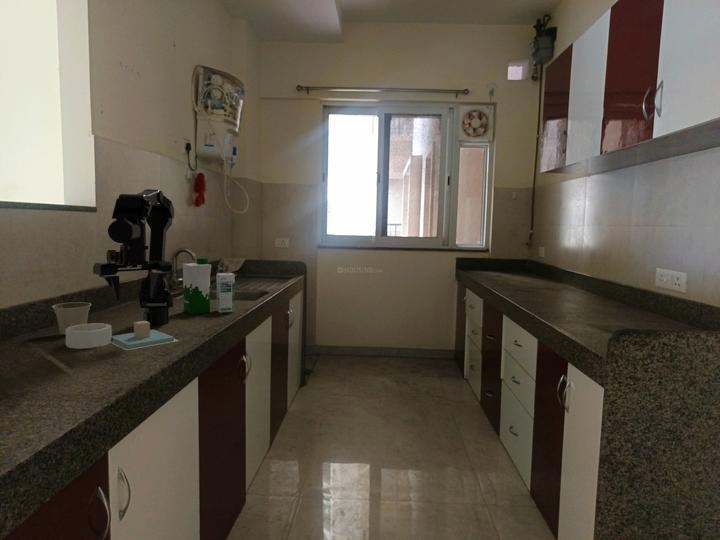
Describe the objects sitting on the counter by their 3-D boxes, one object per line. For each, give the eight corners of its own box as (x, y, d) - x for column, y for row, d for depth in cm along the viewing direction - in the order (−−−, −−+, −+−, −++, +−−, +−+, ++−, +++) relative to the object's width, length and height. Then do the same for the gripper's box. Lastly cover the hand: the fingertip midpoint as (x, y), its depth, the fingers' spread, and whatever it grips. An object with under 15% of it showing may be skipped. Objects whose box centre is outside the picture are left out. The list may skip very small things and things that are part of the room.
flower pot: (73, 339, 124) (72, 309, 123) (44, 337, 125) (43, 306, 125) (99, 332, 133) (99, 303, 132) (72, 329, 135) (71, 301, 134)
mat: (155, 334, 132) (155, 331, 132) (179, 343, 123) (179, 340, 123) (104, 342, 122) (104, 339, 122) (126, 353, 113) (125, 350, 112)
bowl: (102, 339, 125) (102, 321, 124) (117, 346, 118) (116, 327, 118) (61, 345, 117) (60, 327, 117) (74, 353, 111) (73, 333, 110)
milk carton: (213, 312, 167) (213, 259, 165) (189, 315, 160) (189, 259, 159) (203, 308, 173) (203, 257, 171) (180, 311, 167) (179, 258, 165)
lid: (153, 332, 131) (153, 316, 130) (173, 340, 123) (173, 322, 122) (109, 339, 122) (109, 321, 121) (128, 348, 114) (128, 329, 113)
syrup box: (219, 313, 166) (219, 274, 165) (216, 310, 172) (216, 272, 170) (234, 312, 169) (235, 273, 168) (231, 309, 174) (231, 272, 173)
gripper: (154, 240, 132) (155, 292, 133) (84, 240, 118) (85, 299, 119) (173, 242, 125) (173, 297, 126) (100, 242, 110) (102, 304, 112)
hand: (135, 299), depth 121 cm, fingers open, 9 cm apart
